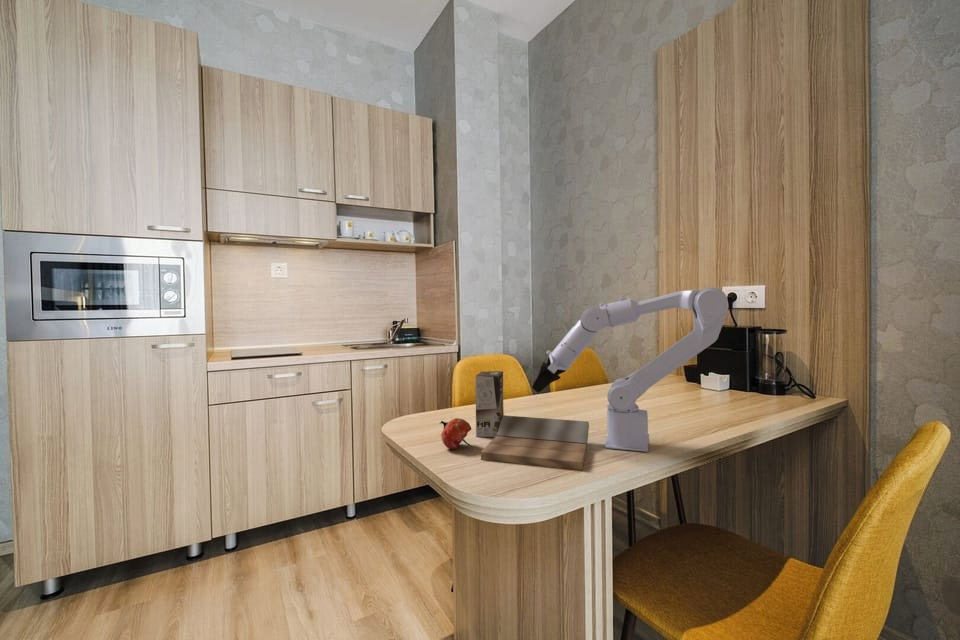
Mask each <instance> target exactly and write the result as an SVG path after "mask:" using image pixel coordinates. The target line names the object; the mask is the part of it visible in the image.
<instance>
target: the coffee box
mask: <svg viewBox="0 0 960 640" xmlns="http://www.w3.org/2000/svg"><path fill="white" fill-rule="evenodd" d="M474 378H475V436H476V437H480V438H482V437H483V438H495V437H496V436H497V432H498V429H499V426H500V423H501V420H502V417H503V415H505V413H504V408H505V407H504V371H501V370H500V371H499V370H493V371H492V370H491V371H484V370H483V371H480V372H479V373H478V374H477V375H475V377H474Z"/></svg>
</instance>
